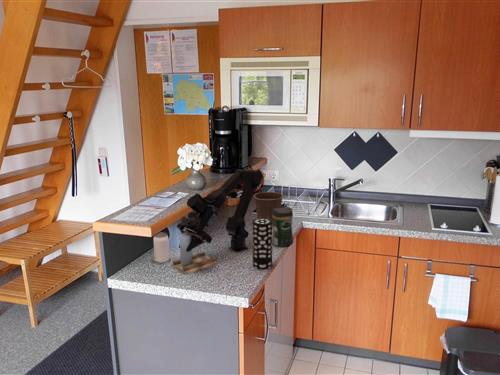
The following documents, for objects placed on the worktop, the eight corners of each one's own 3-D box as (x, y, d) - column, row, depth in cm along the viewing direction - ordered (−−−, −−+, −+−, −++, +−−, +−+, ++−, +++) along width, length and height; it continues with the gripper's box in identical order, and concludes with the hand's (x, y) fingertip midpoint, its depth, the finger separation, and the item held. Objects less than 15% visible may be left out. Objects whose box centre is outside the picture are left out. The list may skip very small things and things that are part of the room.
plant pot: (272, 230, 226) (272, 201, 222) (248, 224, 235) (247, 196, 231) (288, 222, 238) (288, 194, 234) (264, 217, 248) (264, 190, 244)
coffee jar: (287, 240, 211) (288, 204, 206) (295, 245, 204) (295, 208, 199) (270, 243, 207) (270, 206, 203) (277, 248, 200) (277, 211, 196)
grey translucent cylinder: (191, 260, 183) (190, 232, 180) (192, 265, 178) (191, 236, 175) (180, 261, 182) (178, 233, 179) (181, 266, 177) (179, 237, 174)
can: (163, 256, 193) (161, 231, 190) (172, 259, 189) (171, 234, 186) (151, 260, 188) (150, 235, 185) (161, 264, 184) (159, 238, 181)
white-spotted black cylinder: (248, 265, 182) (248, 221, 177) (262, 260, 187) (262, 217, 183) (262, 271, 176) (262, 225, 171) (276, 265, 182) (276, 221, 177)
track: (202, 256, 192) (202, 251, 191) (217, 263, 184) (216, 258, 183) (172, 266, 182) (171, 260, 181) (185, 274, 174) (185, 268, 173)
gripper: (178, 204, 184) (158, 235, 179) (205, 213, 171) (184, 246, 166) (194, 217, 191) (175, 247, 186) (220, 227, 178) (201, 259, 173)
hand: (183, 249), depth 178 cm, fingers closed on grey translucent cylinder, 5 cm apart
